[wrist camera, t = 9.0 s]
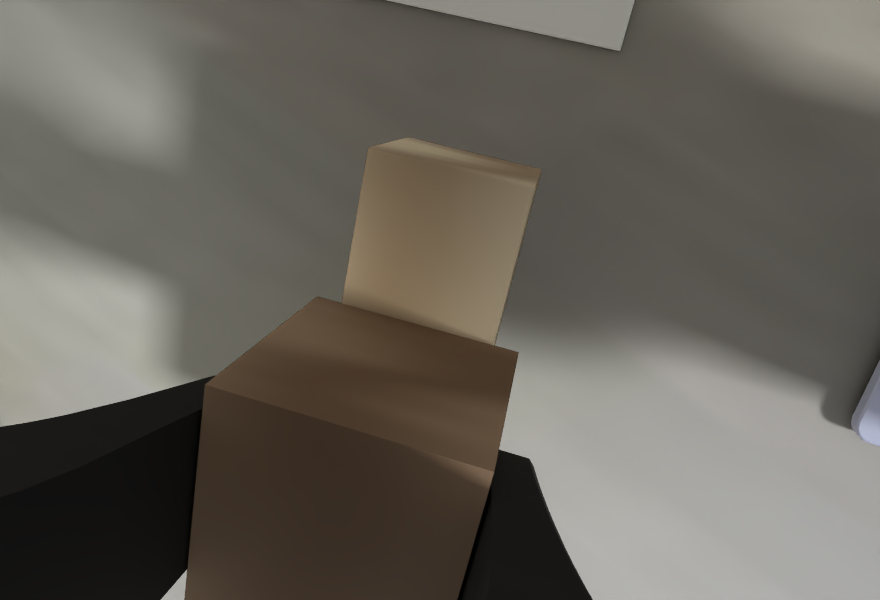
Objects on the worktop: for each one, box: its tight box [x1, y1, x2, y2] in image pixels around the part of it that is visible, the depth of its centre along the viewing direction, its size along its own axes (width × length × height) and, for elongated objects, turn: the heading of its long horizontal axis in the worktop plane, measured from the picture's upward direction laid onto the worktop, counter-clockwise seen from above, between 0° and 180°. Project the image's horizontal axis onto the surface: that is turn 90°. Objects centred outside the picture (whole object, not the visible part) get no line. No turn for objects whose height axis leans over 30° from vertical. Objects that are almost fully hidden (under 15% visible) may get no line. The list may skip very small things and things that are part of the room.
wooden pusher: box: [185, 137, 542, 600], centre depth 12 cm, size 4×10×7 cm, turn 167°
